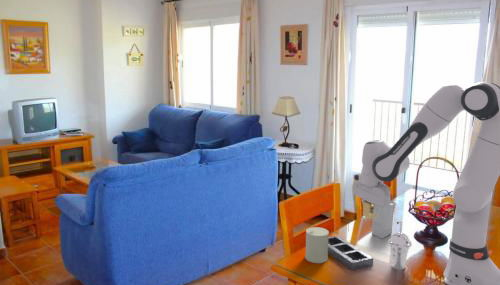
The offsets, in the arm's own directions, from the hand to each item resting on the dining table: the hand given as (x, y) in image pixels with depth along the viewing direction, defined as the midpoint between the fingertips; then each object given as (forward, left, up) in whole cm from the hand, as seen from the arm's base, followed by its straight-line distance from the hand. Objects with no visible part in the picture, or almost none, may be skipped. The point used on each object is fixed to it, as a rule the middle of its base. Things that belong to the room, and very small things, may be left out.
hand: (370, 211), depth 179 cm
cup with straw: (-16, -1, -18) cm, 24 cm away
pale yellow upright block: (0, 0, -2) cm, 2 cm away
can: (+3, +24, -18) cm, 30 cm away
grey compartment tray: (+1, +12, -17) cm, 21 cm away
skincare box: (+12, -17, -18) cm, 27 cm away
